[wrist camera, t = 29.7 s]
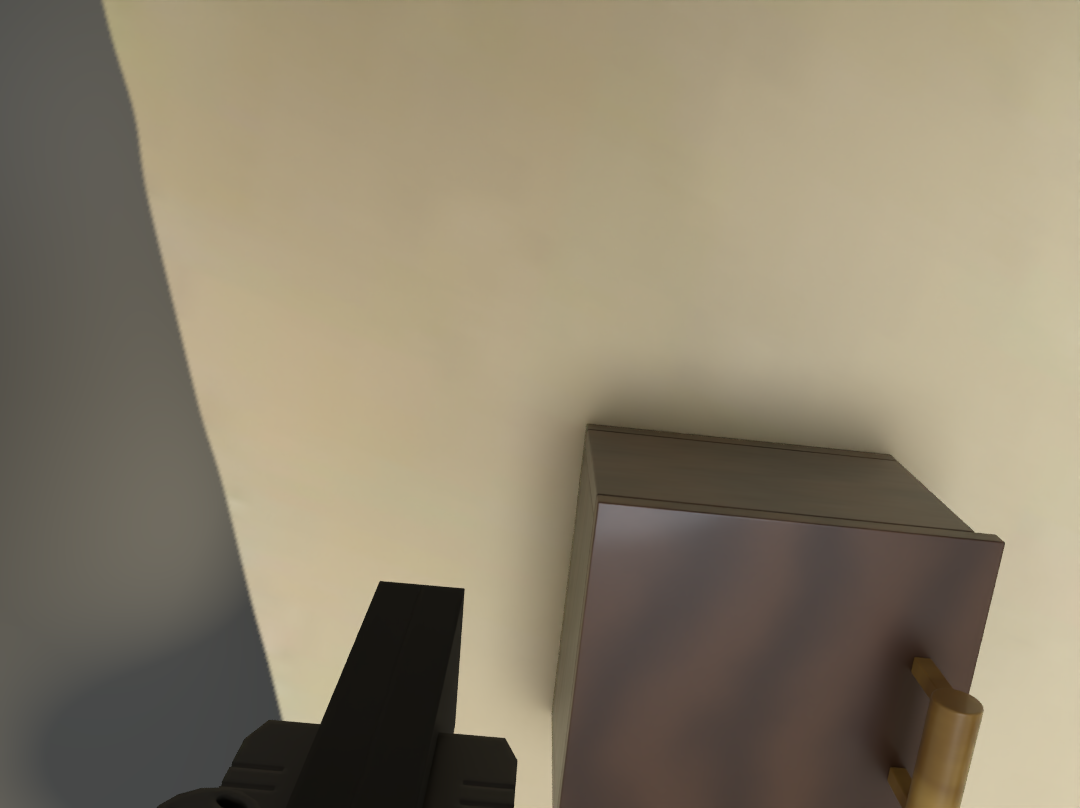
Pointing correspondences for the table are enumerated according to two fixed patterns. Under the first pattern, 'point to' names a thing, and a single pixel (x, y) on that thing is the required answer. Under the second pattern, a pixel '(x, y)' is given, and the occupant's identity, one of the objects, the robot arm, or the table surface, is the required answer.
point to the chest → (726, 504)
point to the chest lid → (774, 661)
